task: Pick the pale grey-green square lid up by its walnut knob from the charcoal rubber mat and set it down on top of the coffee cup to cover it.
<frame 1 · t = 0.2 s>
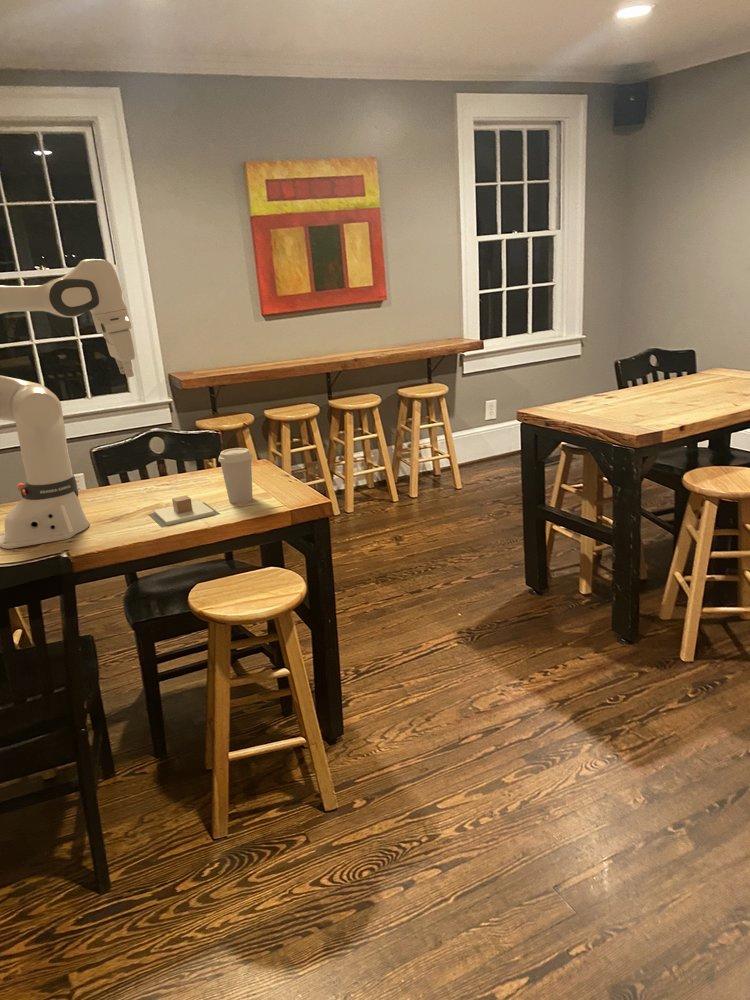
hand: (127, 375, 194), 38 cm above the table, tool pointing down, fingers open, 8 cm apart
lid: (183, 514, 198), point 1 cm above the table, touching mat
mat: (184, 516, 198), on the table
coffee cup: (241, 502, 207), on the table
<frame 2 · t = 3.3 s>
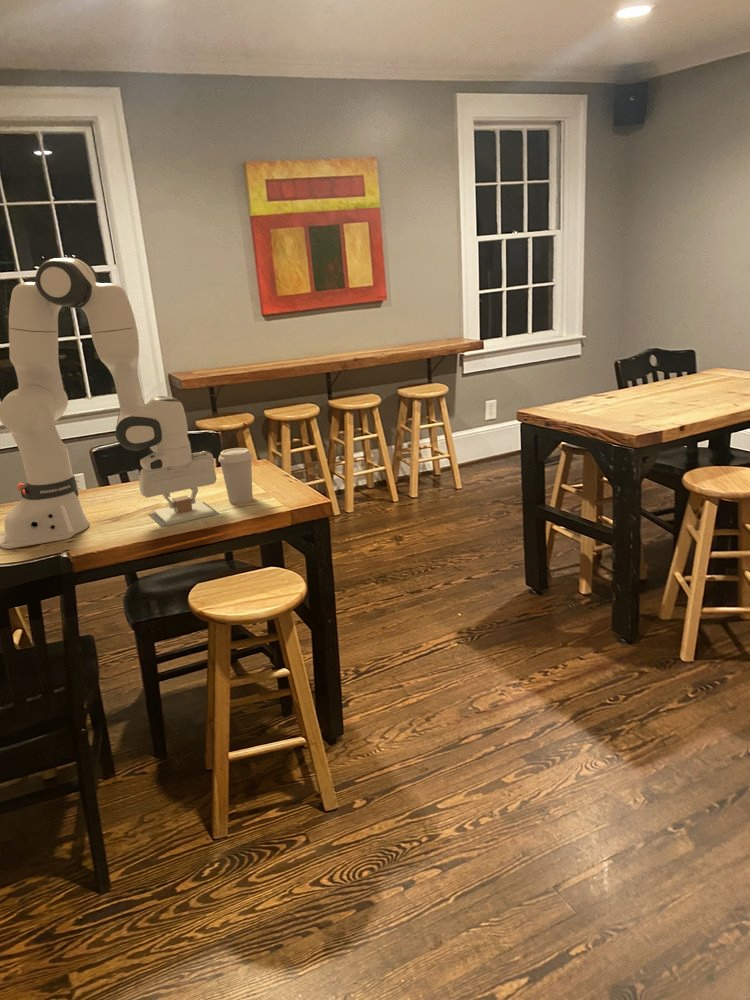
hand: (182, 505, 197), 3 cm above the table, tool pointing down, fingers closed on lid, 4 cm apart
lid: (183, 514, 198), point 1 cm above the table, touching gripper, mat
everything else where it was.
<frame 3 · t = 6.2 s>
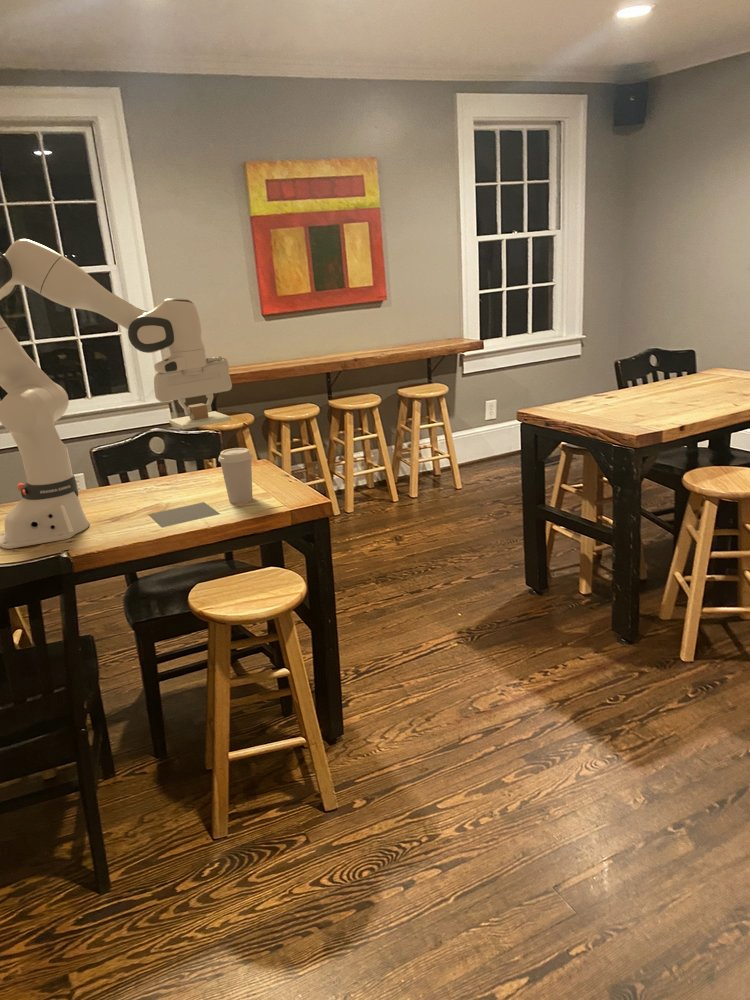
hand: (198, 412, 194), 27 cm above the table, tool pointing down, fingers closed on lid, 4 cm apart
lid: (199, 421, 195), point 25 cm above the table, touching gripper
everything else where it was.
when the fingers open (19 cm above the table, at t = 8.9 s): lid drops 1 cm, resting on coffee cup.
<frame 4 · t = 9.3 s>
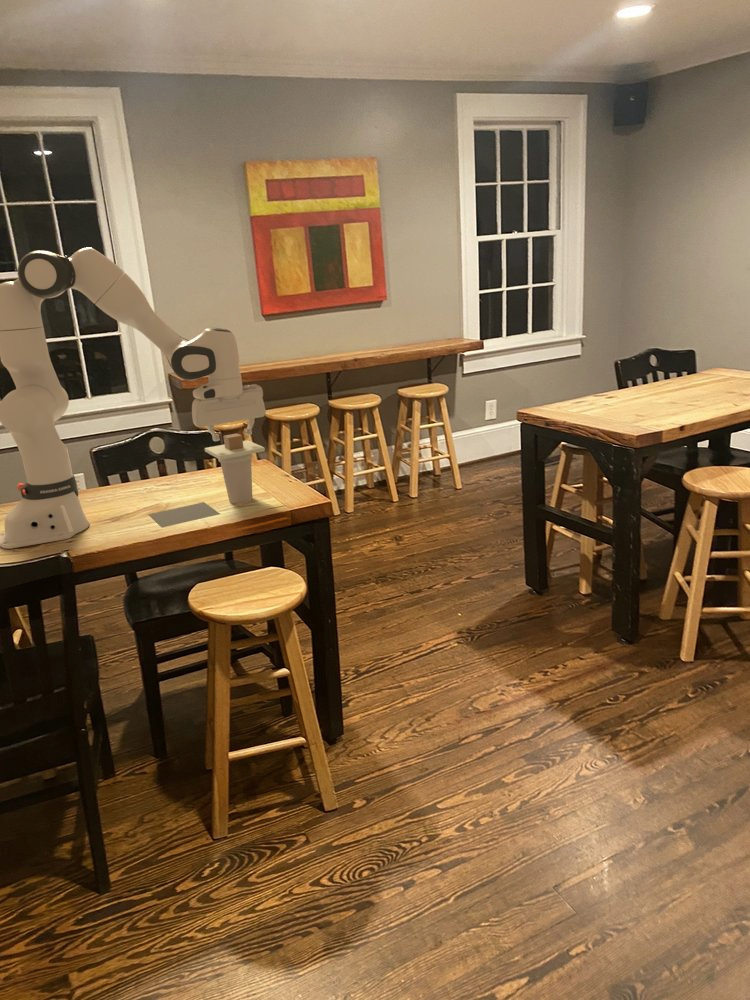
hand: (232, 437, 202), 19 cm above the table, tool pointing down, fingers open, 8 cm apart
lid: (234, 451, 203), point 15 cm above the table, touching coffee cup
coffee cup: (241, 502, 207), on the table, touching lid
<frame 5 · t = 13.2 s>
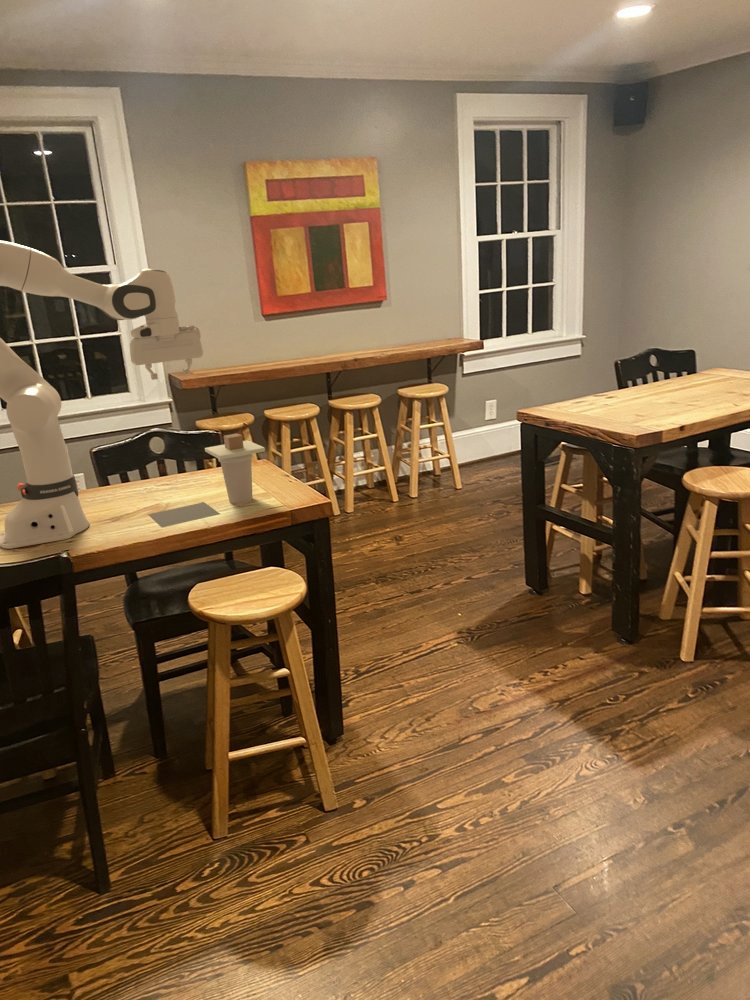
hand: (170, 377, 210), 35 cm above the table, tool pointing down, fingers open, 8 cm apart
nothing on the table moved.
at the end: lid 0.1 cm off-centre on the coffee cup, point 15.2 cm above the coffee cup's base; lid touching coffee cup; coffee cup tilted 0° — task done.
